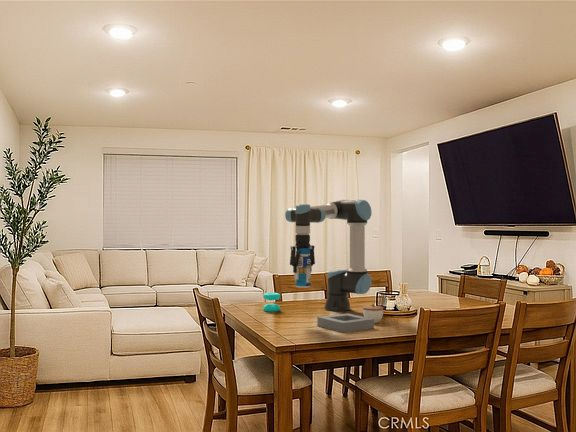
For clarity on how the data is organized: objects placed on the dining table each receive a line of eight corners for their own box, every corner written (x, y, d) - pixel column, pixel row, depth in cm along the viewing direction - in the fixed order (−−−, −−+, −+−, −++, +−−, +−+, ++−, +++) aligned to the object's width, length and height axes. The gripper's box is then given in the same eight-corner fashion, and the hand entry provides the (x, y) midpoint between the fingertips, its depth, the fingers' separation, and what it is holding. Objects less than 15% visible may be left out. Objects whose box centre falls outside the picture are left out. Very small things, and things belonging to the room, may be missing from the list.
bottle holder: (348, 322, 316) (348, 313, 316) (374, 328, 299) (374, 319, 299) (317, 325, 304) (317, 316, 304) (342, 332, 288) (342, 323, 288)
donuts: (283, 293, 350) (269, 295, 344) (283, 311, 350) (269, 312, 344) (273, 291, 358) (259, 293, 352) (273, 308, 358) (259, 310, 352)
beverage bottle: (292, 286, 314) (292, 247, 314) (307, 285, 317) (307, 247, 317) (298, 288, 306) (299, 248, 306) (313, 287, 309) (314, 248, 309)
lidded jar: (384, 320, 321) (385, 303, 321) (381, 324, 310) (381, 306, 310) (365, 319, 324) (365, 302, 324) (360, 322, 314) (360, 304, 314)
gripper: (313, 233, 320) (313, 277, 320) (282, 234, 309) (282, 279, 309) (322, 234, 313) (322, 278, 313) (290, 234, 302) (290, 280, 303)
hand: (302, 278), depth 311 cm, fingers closed on beverage bottle, 7 cm apart
